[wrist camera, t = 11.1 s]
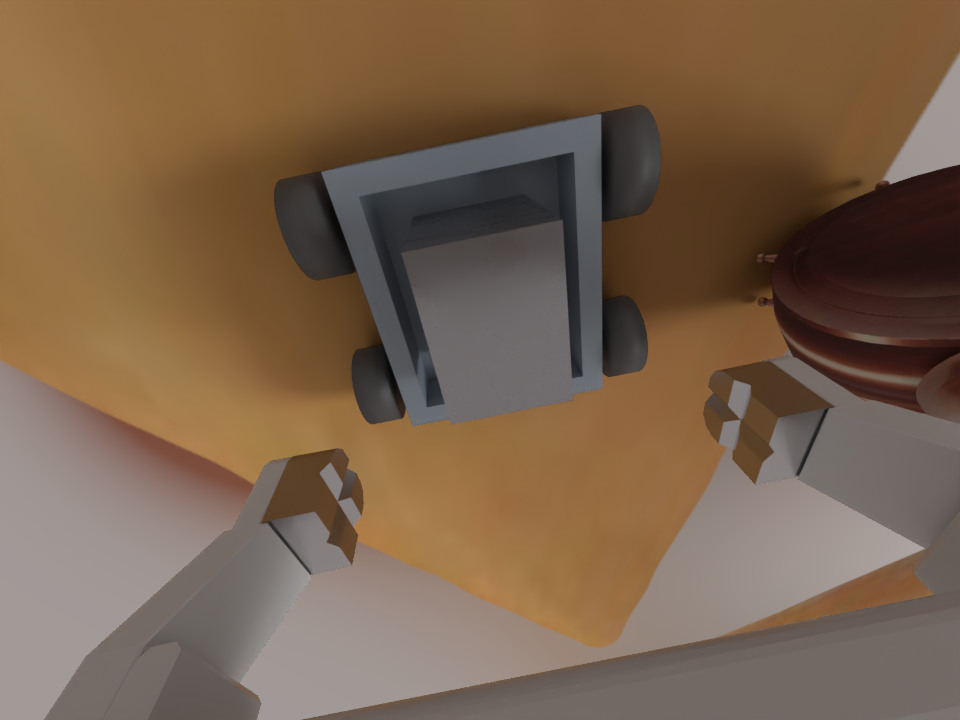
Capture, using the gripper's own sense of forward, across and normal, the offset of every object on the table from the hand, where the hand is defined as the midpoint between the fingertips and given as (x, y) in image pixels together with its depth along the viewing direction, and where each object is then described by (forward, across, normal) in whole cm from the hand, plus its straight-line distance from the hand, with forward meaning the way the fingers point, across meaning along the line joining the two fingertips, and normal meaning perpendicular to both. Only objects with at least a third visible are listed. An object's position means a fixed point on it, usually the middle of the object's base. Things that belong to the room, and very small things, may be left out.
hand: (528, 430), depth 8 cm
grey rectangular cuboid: (+11, 0, +1) cm, 11 cm away
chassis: (+12, 0, +1) cm, 12 cm away
